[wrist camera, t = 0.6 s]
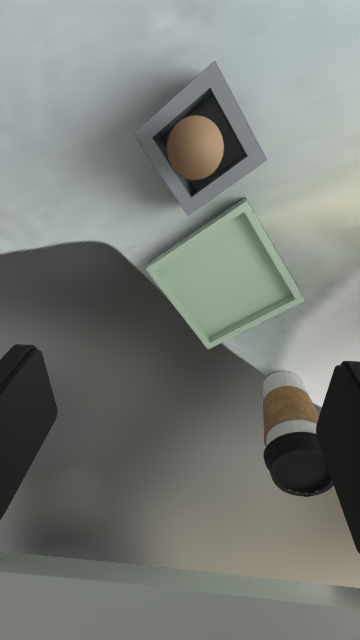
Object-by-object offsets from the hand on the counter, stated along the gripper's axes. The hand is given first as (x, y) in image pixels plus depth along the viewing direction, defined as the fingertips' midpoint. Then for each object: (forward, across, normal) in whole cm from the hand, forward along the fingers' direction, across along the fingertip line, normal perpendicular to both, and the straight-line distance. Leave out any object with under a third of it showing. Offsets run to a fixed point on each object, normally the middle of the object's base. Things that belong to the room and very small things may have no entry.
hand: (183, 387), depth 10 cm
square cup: (+31, 0, -6) cm, 31 cm away
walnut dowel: (+30, 0, -6) cm, 30 cm away
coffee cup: (+30, -13, +26) cm, 42 cm away
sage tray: (+30, -3, +9) cm, 32 cm away
